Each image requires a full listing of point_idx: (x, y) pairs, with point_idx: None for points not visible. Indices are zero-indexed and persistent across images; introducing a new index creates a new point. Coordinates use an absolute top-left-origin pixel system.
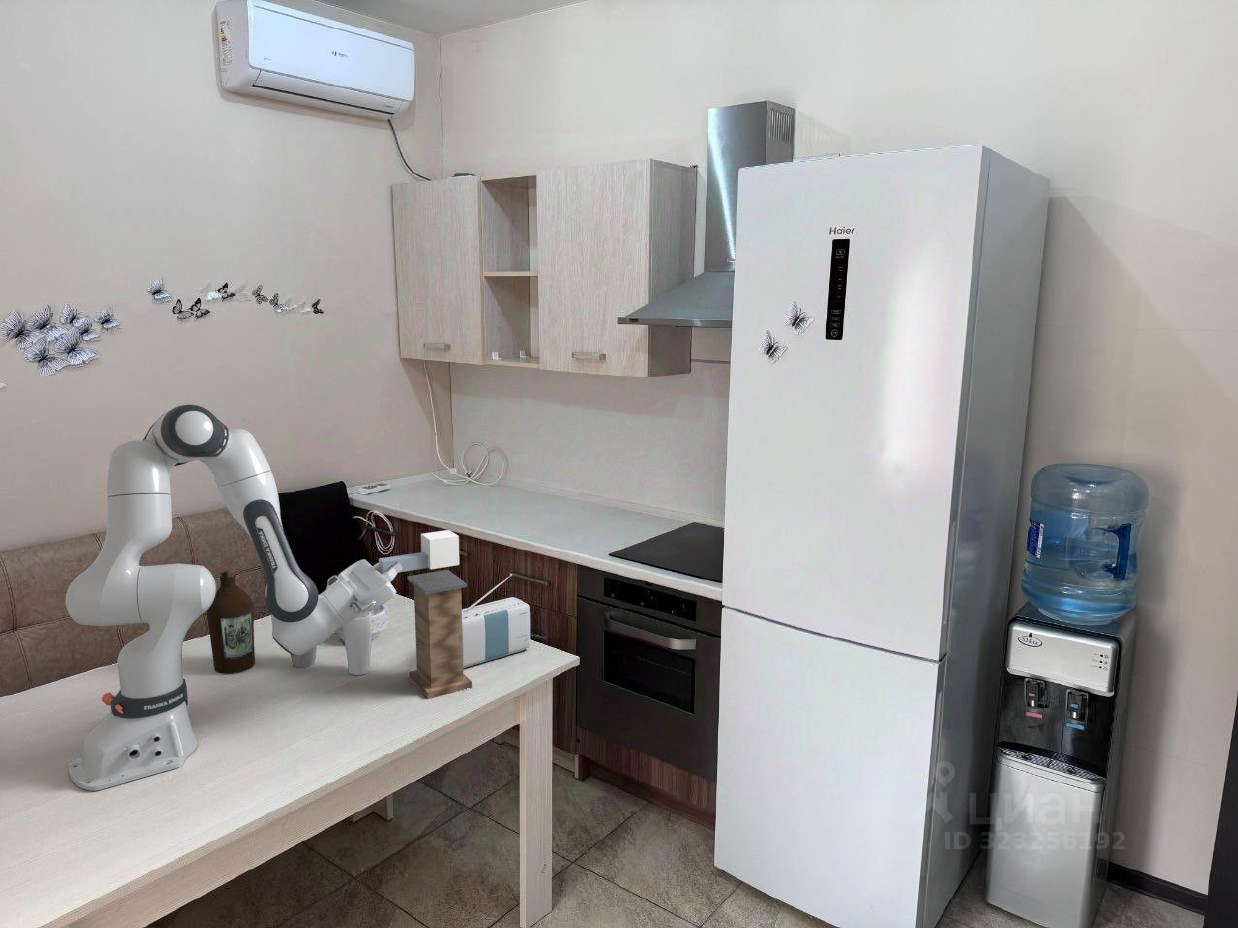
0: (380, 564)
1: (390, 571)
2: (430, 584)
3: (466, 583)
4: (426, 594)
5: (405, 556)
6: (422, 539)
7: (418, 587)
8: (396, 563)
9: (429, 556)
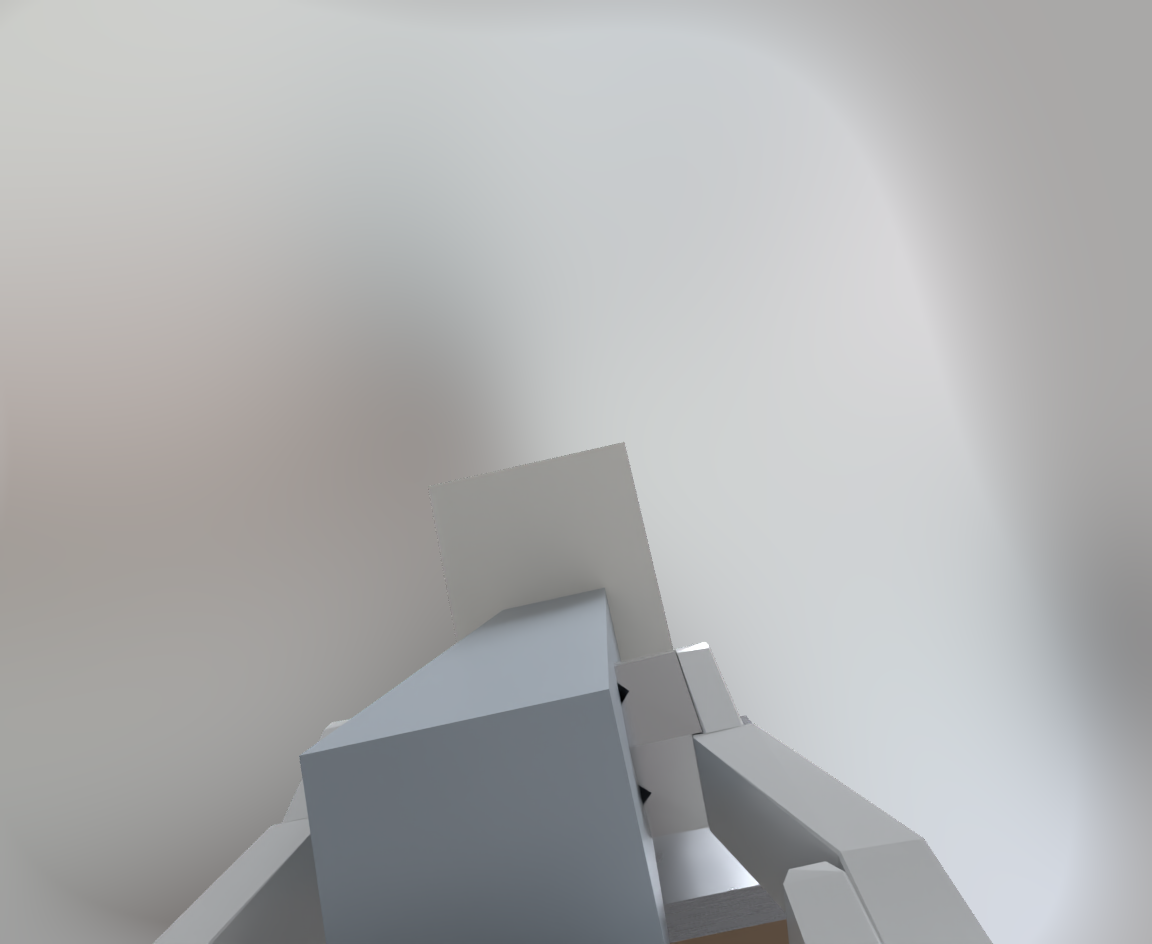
0: (429, 857)
1: (839, 791)
2: (682, 835)
3: (743, 716)
4: (772, 931)
5: (529, 625)
6: (470, 514)
7: (668, 930)
8: (665, 665)
9: (637, 582)
